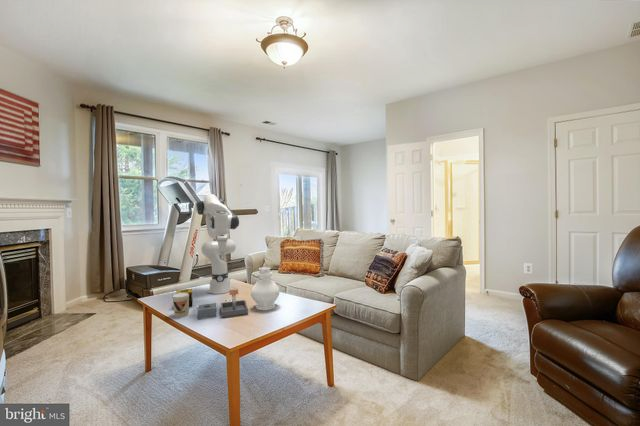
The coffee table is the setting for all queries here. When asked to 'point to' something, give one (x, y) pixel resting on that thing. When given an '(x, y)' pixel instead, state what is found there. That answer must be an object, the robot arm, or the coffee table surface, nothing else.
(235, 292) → the pin
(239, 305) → the tray
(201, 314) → the hitch block
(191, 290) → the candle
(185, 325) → the coffee table surface
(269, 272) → the decorative vase
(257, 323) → the coffee table surface
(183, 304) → the coffee cup
